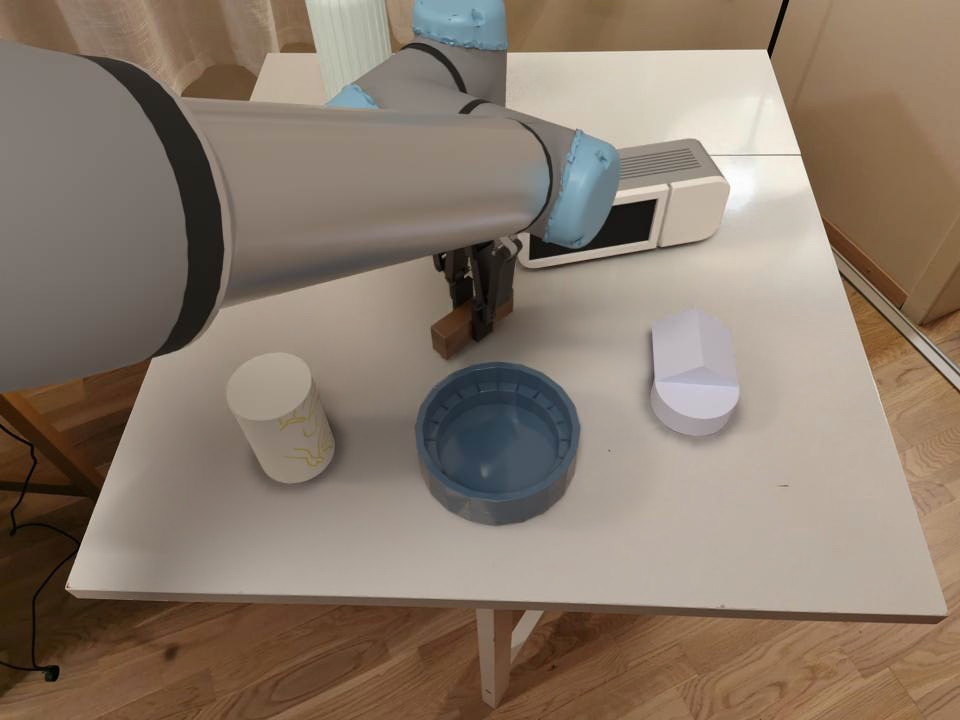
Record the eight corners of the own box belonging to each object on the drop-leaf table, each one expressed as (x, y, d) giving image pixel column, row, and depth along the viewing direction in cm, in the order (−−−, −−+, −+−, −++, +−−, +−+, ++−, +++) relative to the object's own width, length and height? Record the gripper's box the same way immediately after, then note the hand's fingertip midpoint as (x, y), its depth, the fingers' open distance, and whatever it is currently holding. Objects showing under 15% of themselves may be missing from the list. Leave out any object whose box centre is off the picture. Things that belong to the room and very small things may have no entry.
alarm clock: (518, 278, 93) (520, 206, 83) (502, 232, 98) (502, 160, 89) (714, 245, 96) (737, 172, 86) (688, 202, 101) (706, 129, 92)
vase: (407, 96, 121) (391, -42, 103) (387, 135, 114) (365, -7, 96) (344, 90, 123) (317, -47, 105) (320, 127, 116) (287, -13, 98)
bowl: (497, 561, 69) (496, 534, 64) (389, 456, 76) (381, 426, 72) (607, 457, 76) (614, 426, 71) (498, 370, 83) (497, 337, 79)
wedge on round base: (647, 342, 85) (651, 432, 77) (656, 304, 80) (662, 396, 72) (723, 347, 85) (736, 438, 77) (737, 308, 79) (753, 403, 71)
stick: (447, 360, 82) (445, 338, 79) (432, 348, 84) (430, 326, 80) (513, 311, 87) (513, 288, 84) (498, 301, 88) (498, 278, 85)
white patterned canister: (313, 492, 74) (286, 430, 65) (246, 471, 76) (209, 407, 66) (347, 430, 79) (325, 363, 69) (282, 411, 80) (253, 344, 71)
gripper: (554, 181, 65) (542, 346, 83) (440, 114, 72) (452, 280, 90) (496, 218, 61) (497, 382, 80) (383, 145, 69) (407, 310, 87)
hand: (473, 327), depth 85 cm, fingers closed on stick, 3 cm apart
